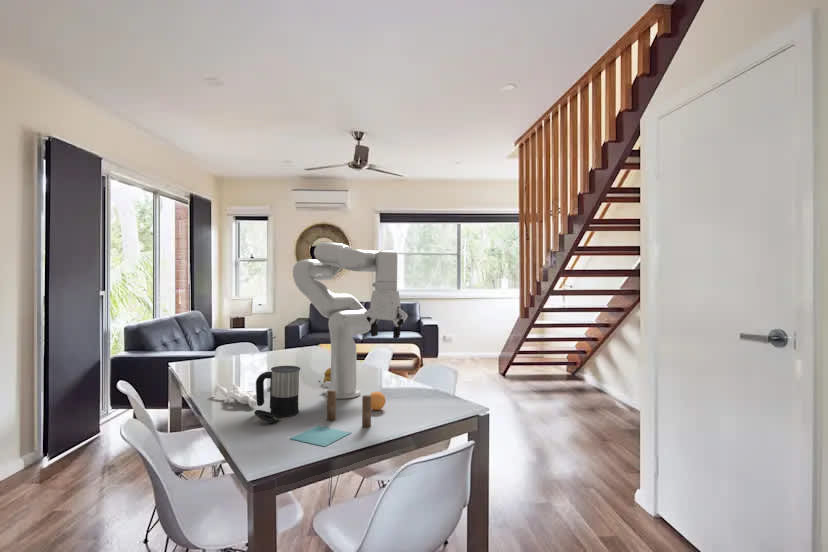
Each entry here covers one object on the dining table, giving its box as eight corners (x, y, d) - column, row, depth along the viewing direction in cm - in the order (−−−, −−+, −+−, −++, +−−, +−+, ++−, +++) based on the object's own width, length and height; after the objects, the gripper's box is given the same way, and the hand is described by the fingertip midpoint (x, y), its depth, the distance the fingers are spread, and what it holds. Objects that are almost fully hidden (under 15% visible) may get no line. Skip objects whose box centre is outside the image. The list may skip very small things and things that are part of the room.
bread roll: (329, 388, 184) (330, 368, 184) (316, 383, 191) (316, 364, 191) (355, 383, 193) (355, 363, 193) (341, 379, 200) (341, 360, 200)
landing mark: (289, 438, 126) (289, 438, 126) (318, 426, 137) (318, 425, 137) (324, 446, 121) (324, 446, 121) (351, 433, 132) (351, 432, 132)
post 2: (360, 427, 137) (360, 396, 137) (365, 424, 139) (365, 394, 139) (367, 428, 136) (368, 398, 136) (372, 426, 138) (372, 396, 138)
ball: (364, 410, 153) (364, 392, 153) (373, 406, 159) (373, 388, 159) (379, 413, 151) (379, 395, 151) (388, 408, 156) (388, 391, 156)
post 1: (325, 420, 143) (325, 391, 143) (330, 417, 145) (330, 389, 145) (332, 421, 142) (332, 392, 142) (337, 419, 144) (337, 390, 144)
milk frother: (298, 408, 156) (298, 364, 156) (303, 422, 141) (304, 374, 141) (253, 412, 151) (254, 366, 151) (254, 427, 136) (255, 377, 136)
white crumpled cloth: (209, 400, 168) (238, 417, 150) (207, 385, 167) (236, 400, 149) (240, 391, 176) (271, 407, 158) (238, 376, 175) (270, 390, 158)
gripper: (359, 286, 160) (358, 336, 160) (402, 287, 152) (402, 340, 152) (370, 285, 166) (369, 333, 166) (413, 287, 158) (412, 337, 158)
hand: (385, 336), depth 159 cm, fingers open, 8 cm apart
